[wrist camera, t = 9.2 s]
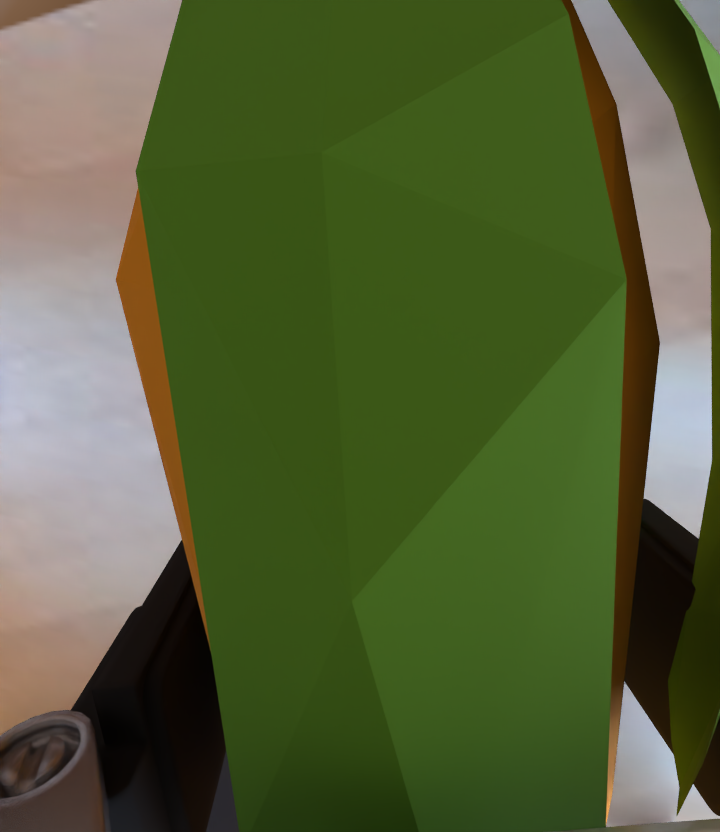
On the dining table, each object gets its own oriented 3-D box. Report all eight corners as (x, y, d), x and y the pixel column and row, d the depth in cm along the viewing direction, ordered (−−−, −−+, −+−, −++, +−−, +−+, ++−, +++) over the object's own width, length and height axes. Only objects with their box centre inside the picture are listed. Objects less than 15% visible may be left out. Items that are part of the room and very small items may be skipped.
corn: (1781, -1428, 1) (807, 1540, 7) (616, -13, 9) (589, 876, 14) (-610, -771, 2) (235, 1496, 7) (176, 44, 9) (311, 880, 15)
